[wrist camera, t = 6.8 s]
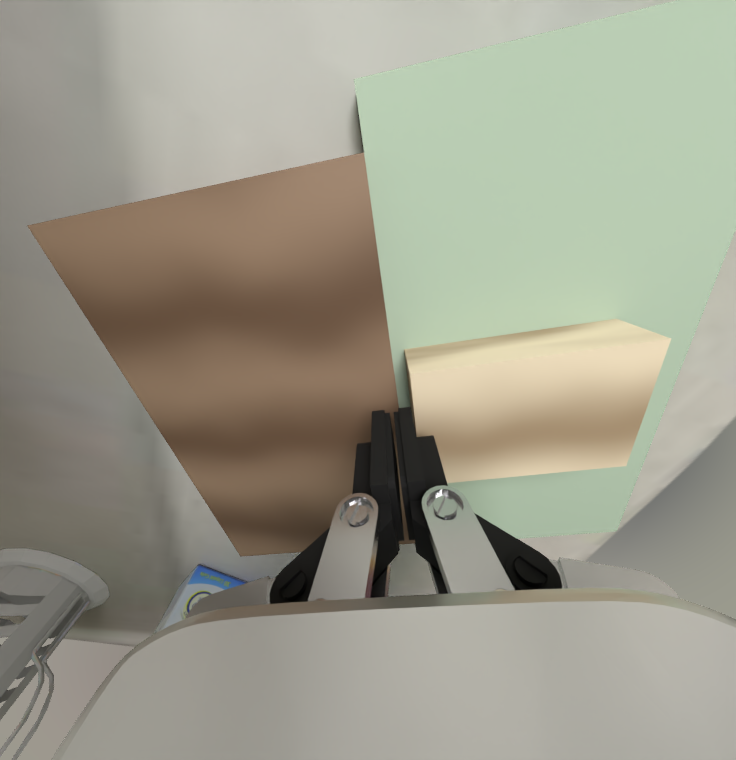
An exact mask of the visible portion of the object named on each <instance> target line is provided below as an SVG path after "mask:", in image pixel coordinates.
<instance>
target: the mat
mask: <svg viewBox="0 0 736 760" xmlns="http://www.w3.org/2000/svg"><path fill="white" fill-rule="evenodd" d="M354 83H355V90H356V97H357V105H358V112H359V119H360V127H361V134H362V141H363V148H364V156H365V163H366V170H367V178H368V185H369V192H370V200H371V207H372V214H373V221H374V229H375V236H376V243H377V251H378V258H379V265H380V272H381V280H382V287H383V294H384V302H385V309H386V316H387V324H388V331H389V338H390V345H391V353H392V360H393V367H394V375H395V382H396V389H397V397H398V404H399V408H404V407H411V406H410V397H409V388H408V379H407V371H406V362H405V353H404V349H410V348H417V347H424V346H430V345H437V344H444V343H451V342H458V341H465V340H472V339H479V338H486V337H493V336H500V335H507V334H514V333H520V332H527V331H534V330H541V329H548V328H555V327H562V326H569V325H576V324H583V323H590V322H597V321H604V320H610V319H619V320H622V321H624V322H627V323H630V324H633V325H635V326H638V327H641V328H644V329H646V330H649V331H652V332H655V333H657V334H660V335H663V336H666V337H668V338H671V341H670V344H669V347H668V350H667V353H666V355H665V358H664V361H663V364H662V367H661V370H660V372H659V375H658V378H657V381H656V384H655V386H654V389H653V392H652V395H651V398H650V401H649V403H648V406H647V409H646V412H645V415H644V417H643V420H642V423H641V426H640V429H639V431H638V434H637V437H636V440H635V443H634V446H633V448H632V451H631V454H630V457H629V460H628V462H627V465H626V466H621V467H611V468H601V469H590V470H580V471H569V472H559V473H548V474H538V475H527V476H517V477H507V478H496V479H486V480H475V481H465V482H454V483H447V484H448V486H451V487H453V488H455V489H458V490H459V491H460V492H461V493H463V495H464V496H465V497H466V499H467V500H468V502H469V504H470V506H471V508H472V510H473V512H474V513H475V514H477V515H479V516H480V517H482V518H484V519H485V520H487V521H489V522H490V523H492V524H493V525H495V526H497V527H498V528H500V529H502V530H503V531H505V532H507V533H508V534H510V535H512V536H513V537H515V538H517V539H520V538H534V537H547V536H560V535H574V534H587V533H600V532H614V531H617V529H618V526H619V524H620V521H621V519H622V516H623V514H624V511H625V509H626V506H627V503H628V501H629V498H630V496H631V493H632V491H633V488H634V486H635V483H636V481H637V478H638V476H639V473H640V471H641V468H642V465H643V463H644V460H645V458H646V455H647V453H648V450H649V448H650V445H651V443H652V440H653V438H654V435H655V433H656V430H657V428H658V425H659V422H660V420H661V417H662V415H663V412H664V410H665V407H666V405H667V402H668V400H669V397H670V395H671V392H672V390H673V387H674V384H675V382H676V379H677V377H678V374H679V372H680V369H681V367H682V364H683V362H684V359H685V357H686V354H687V352H688V349H689V347H690V344H691V341H692V339H693V336H694V334H695V331H696V329H697V326H698V324H699V321H700V319H701V316H702V314H703V311H704V309H705V306H706V303H707V301H708V298H709V296H710V293H711V291H712V288H713V286H714V283H715V281H716V278H717V276H718V273H719V271H720V268H721V266H722V263H723V260H724V258H725V255H726V253H727V250H728V248H729V245H730V243H731V240H732V238H733V235H734V233H735V230H736V0H676V1H672V2H668V3H664V4H660V5H656V6H652V7H648V8H644V9H640V10H635V11H631V12H627V13H623V14H619V15H615V16H611V17H607V18H603V19H599V20H594V21H590V22H586V23H582V24H578V25H574V26H570V27H566V28H562V29H558V30H554V31H549V32H545V33H541V34H537V35H533V36H529V37H525V38H521V39H517V40H513V41H509V42H504V43H500V44H496V45H492V46H488V47H484V48H480V49H476V50H472V51H468V52H464V53H459V54H455V55H451V56H447V57H443V58H439V59H435V60H431V61H427V62H423V63H418V64H414V65H410V66H406V67H402V68H398V69H394V70H390V71H386V72H382V73H378V74H373V75H369V76H365V77H361V78H357V79H354Z"/></svg>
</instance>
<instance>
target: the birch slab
mask: <svg viewBox="0 0 736 760" xmlns="http://www.w3.org/2000/svg"><path fill="white" fill-rule="evenodd" d="M670 341H671V338H668V337H666V336H663V335H660V334H657V333H655V332H652V331H649V330H646V329H644V328H641V327H638V326H635V325H633V324H630V323H627V322H624V321H622V320H619V319H610V320H604V321H597V322H590V323H583V324H576V325H569V326H562V327H555V328H548V329H541V330H534V331H527V332H520V333H514V334H507V335H500V336H493V337H486V338H479V339H472V340H465V341H458V342H451V343H444V344H437V345H430V346H424V347H417V348H410V349H404V353H405V362H406V371H407V379H408V388H409V397H410V406H411V411H412V416H413V421H414V426H415V431H416V436H417V437H422V436H431V435H433V436H434V438H435V442H436V445H437V449H438V452H439V456H440V460H441V463H442V467H443V470H444V474H445V477H446V481H447V483H454V482H465V481H475V480H486V479H496V478H507V477H517V476H527V475H538V474H548V473H559V472H569V471H580V470H590V469H601V468H611V467H621V466H626V465H627V462H628V460H629V457H630V454H631V451H632V448H633V446H634V443H635V440H636V437H637V434H638V431H639V429H640V426H641V423H642V420H643V417H644V415H645V412H646V409H647V406H648V403H649V401H650V398H651V395H652V392H653V389H654V386H655V384H656V381H657V378H658V375H659V372H660V370H661V367H662V364H663V361H664V358H665V355H666V353H667V350H668V347H669V344H670Z"/></svg>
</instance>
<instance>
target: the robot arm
mask: <svg viewBox="0 0 736 760" xmlns="http://www.w3.org/2000/svg"><path fill="white" fill-rule="evenodd" d="M394 422H395V433H396V443H397V453H398V464H399V474H400V483H401V490H402V497H403V504H404V510H405V517H406V524H407V530H408V537H409V540H415V545H416V552H417V553H418V554H419V555H420V556H422V557H423V558H424V559H425V560H426V561H428V566H429V570H430V573H431V576H432V580H433V583H434V586H435V590H436V593H437V594H433V595H414V596H395V597H388V589H389V579H390V562H391V561H392V560H393V559H394V558H395V556H396V555H397V554H398V551H399V541H404V531H403V520H402V509H401V498H400V487H399V476H398V466H397V458H396V451H395V444H394V438H393V431H392V424H391V418H390V413H385V410H378V411H372V421H371V442H366V443H357V447H356V458H355V469H354V480H353V491H352V495H349V496H347V497H346V498H344V499H343V500H342V501H341V502H340V503H339V504H338V506H337V508H336V510H335V513H334V517H333V520H332V523H331V526H330V527H329V528H328V529H327V530H326V531H325V532H324V533H323V534H322V535H320V536H319V537H318V538H317V539H316V540H315V541H314V542H313V543H312V544H310V545H309V546H308V547H307V548H306V549H305V550H304V551H303V552H302V553H300V554H299V555H298V556H297V557H296V558H295V559H294V560H293V561H292V562H291V563H289V564H288V565H287V566H286V567H285V568H284V569H283V570H282V571H281V572H280V573H279V574H278V575H277V577H275V578H272V579H270V578H269V576H267V577H264V578H260V579H257V580H254V581H251V582H248V583H245V584H242V585H239V586H235V587H232V588H229V589H226V590H223V591H220V592H217V593H214V594H210V595H208V596H206V597H204V598H202V599H201V600H200V601H199V602H198V603H196V604H195V605H194V606H193V607H192V609H191V610H190V611H189V613H188V614H187V616H186V618H185V619H184V620H182V621H179V622H177V623H175V624H172V625H170V626H168V627H167V628H165V629H163V630H161V631H159V632H157V633H155V634H154V635H152V636H151V637H149V638H147V639H146V640H144V641H143V642H141V643H140V644H139V645H137V646H136V647H135V648H134V649H132V650H131V651H130V652H129V653H128V654H127V655H126V656H125V657H124V658H123V659H122V660H121V661H120V662H119V663H118V664H117V665H116V666H115V668H114V669H113V670H112V671H111V672H110V674H109V675H108V676H107V677H106V679H105V680H104V681H103V683H102V684H101V685H100V687H99V688H98V690H97V691H96V692H95V694H94V695H93V697H92V698H91V700H90V701H89V703H88V704H87V706H86V707H85V708H84V710H83V711H82V713H81V714H80V716H79V717H78V719H77V720H76V722H75V724H74V725H73V726H72V728H71V730H70V731H69V733H68V734H67V736H66V737H65V739H64V740H63V742H62V743H61V745H60V746H59V748H58V750H57V751H56V753H55V754H54V756H53V758H52V760H736V619H734V618H731V617H729V616H727V615H725V614H722V613H720V612H717V611H715V610H712V609H710V608H707V607H704V606H701V605H698V604H695V603H692V602H689V601H686V600H683V599H680V598H679V596H678V595H677V594H676V593H675V591H674V590H673V589H671V588H670V587H669V586H668V585H667V584H666V583H664V582H663V581H662V580H660V579H658V578H657V577H655V576H653V575H651V574H650V573H647V572H643V571H640V570H636V569H630V568H623V567H617V566H611V565H604V564H598V563H591V562H585V561H579V560H572V559H566V558H560V557H559V560H558V561H556V560H550V559H548V558H546V557H545V556H544V555H542V554H541V553H540V552H538V551H536V550H535V549H533V548H532V547H530V546H528V545H527V544H525V543H523V542H522V541H520V540H518V539H517V538H515V537H513V536H512V535H510V534H508V533H507V532H505V531H503V530H502V529H500V528H498V527H497V526H495V525H493V524H492V523H490V522H489V521H487V520H485V519H484V518H482V517H480V516H479V515H477V514H475V513H474V512H473V510H472V508H471V506H470V504H469V502H468V500H467V499H466V497H465V496H464V495H463V493H461V492H460V491H459V490H458V489H455V488H453V487H451V486H448V484H447V481H446V477H445V474H444V470H443V467H442V463H441V460H440V456H439V452H438V449H437V445H436V442H435V438H434V436H433V435H431V436H422V437H417V436H416V431H415V426H414V421H413V416H412V411H411V407H404V408H398V412H394Z"/></svg>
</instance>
